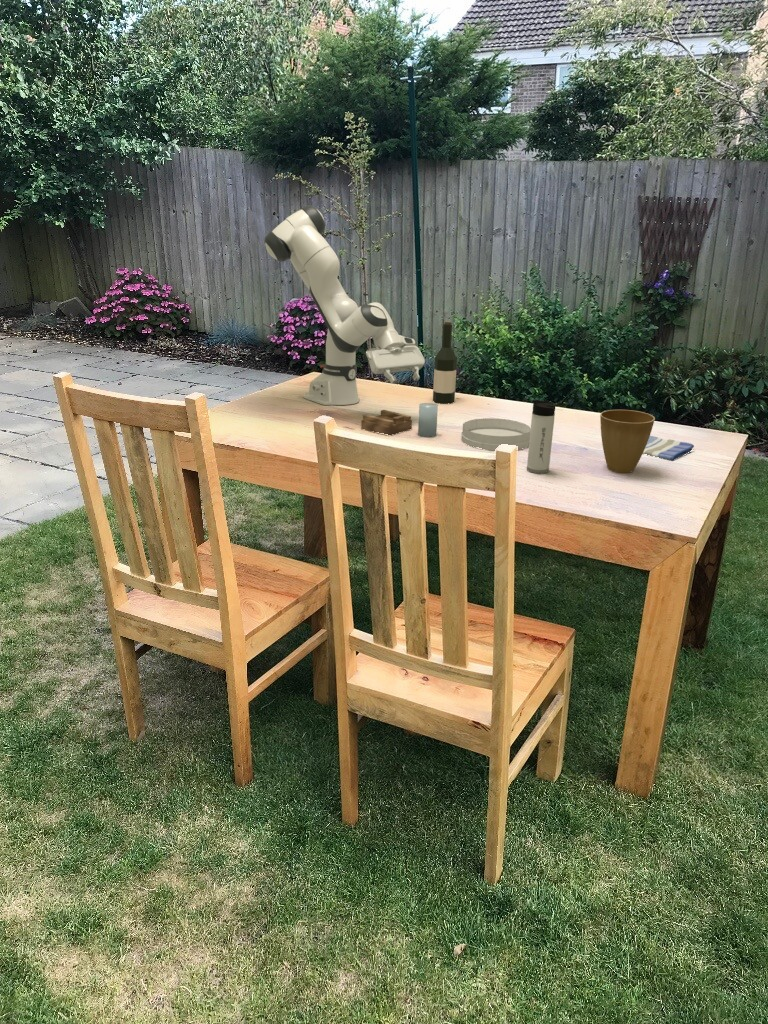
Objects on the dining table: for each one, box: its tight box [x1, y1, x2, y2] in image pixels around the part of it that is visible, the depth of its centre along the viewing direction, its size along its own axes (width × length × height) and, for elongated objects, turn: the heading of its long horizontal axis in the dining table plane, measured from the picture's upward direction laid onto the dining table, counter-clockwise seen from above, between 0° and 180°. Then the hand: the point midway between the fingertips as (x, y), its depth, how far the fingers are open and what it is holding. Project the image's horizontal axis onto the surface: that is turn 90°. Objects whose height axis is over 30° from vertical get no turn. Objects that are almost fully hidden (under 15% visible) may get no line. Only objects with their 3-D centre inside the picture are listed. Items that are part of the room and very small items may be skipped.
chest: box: [360, 409, 413, 436], centre depth 261 cm, size 12×12×5 cm
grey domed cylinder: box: [417, 402, 439, 438], centre depth 255 cm, size 6×6×10 cm
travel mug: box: [526, 399, 556, 475], centre depth 221 cm, size 6×7×20 cm
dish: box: [460, 417, 531, 452], centre depth 251 cm, size 22×22×5 cm
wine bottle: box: [432, 321, 458, 405], centre depth 295 cm, size 8×8×30 cm
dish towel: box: [642, 435, 695, 461], centre depth 249 cm, size 17×24×3 cm
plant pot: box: [599, 409, 656, 474], centre depth 225 cm, size 15×15×16 cm
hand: (405, 380), depth 260 cm, fingers open, 8 cm apart
